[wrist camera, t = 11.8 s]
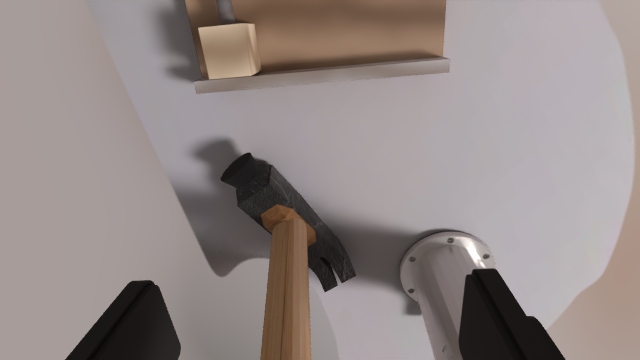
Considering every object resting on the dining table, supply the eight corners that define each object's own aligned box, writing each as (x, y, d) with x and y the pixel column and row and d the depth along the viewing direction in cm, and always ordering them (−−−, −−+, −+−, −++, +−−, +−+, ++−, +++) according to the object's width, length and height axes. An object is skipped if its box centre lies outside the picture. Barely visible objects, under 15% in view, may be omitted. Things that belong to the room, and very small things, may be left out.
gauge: (261, 70, 35) (251, 75, 31) (224, 73, 35) (209, 79, 31) (245, -35, 31) (230, -44, 27) (203, -30, 31) (183, -38, 27)
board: (437, 67, 35) (449, 72, 32) (211, 87, 38) (196, 93, 34) (444, -70, 31) (459, -83, 27) (183, -38, 33) (162, -47, 29)
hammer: (350, 243, 48) (407, 548, 23) (322, 258, 50) (347, 562, 24) (254, 145, 39) (175, 481, 14) (223, 168, 40) (100, 511, 15)
